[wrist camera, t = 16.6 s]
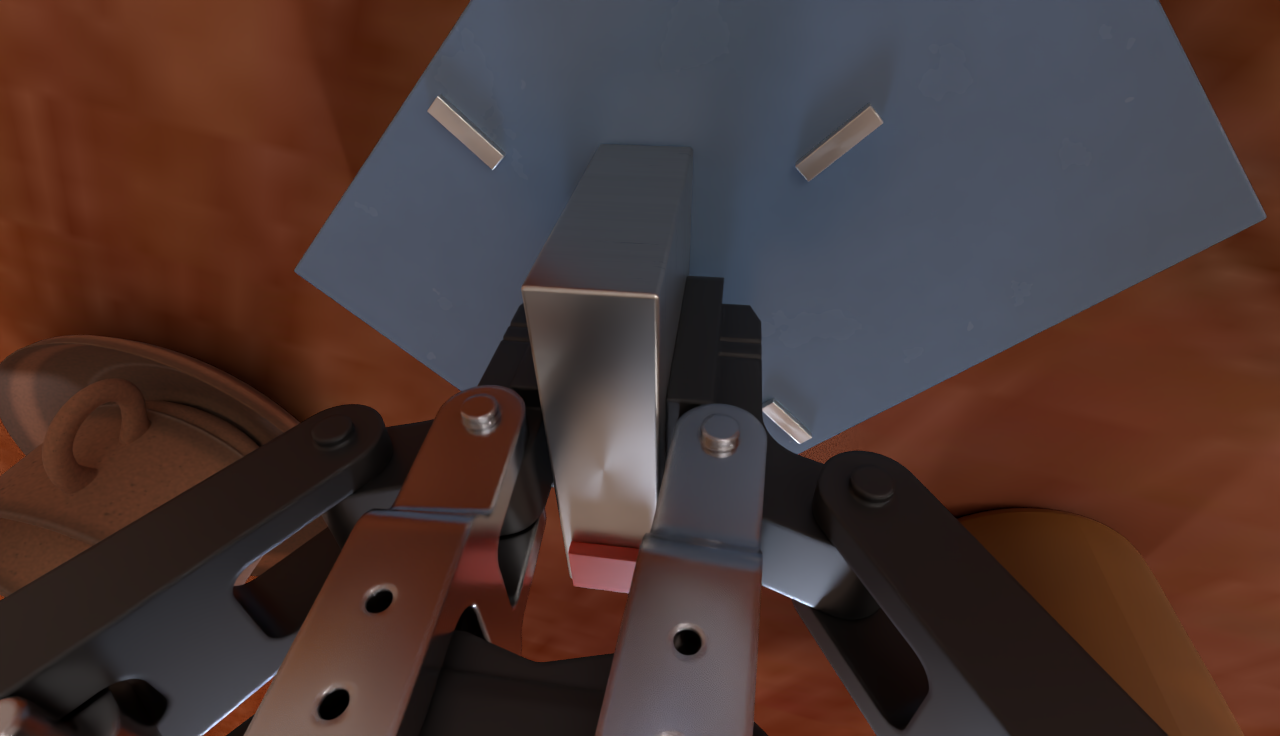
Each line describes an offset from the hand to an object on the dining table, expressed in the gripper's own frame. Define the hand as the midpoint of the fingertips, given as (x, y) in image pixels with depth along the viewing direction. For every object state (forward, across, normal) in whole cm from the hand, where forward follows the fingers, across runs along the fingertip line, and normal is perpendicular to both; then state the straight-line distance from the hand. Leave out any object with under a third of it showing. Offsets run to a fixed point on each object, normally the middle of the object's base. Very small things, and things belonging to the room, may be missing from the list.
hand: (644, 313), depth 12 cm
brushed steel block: (0, 0, 0) cm, 0 cm away
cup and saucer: (+4, +17, +9) cm, 19 cm away
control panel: (+3, -1, -1) cm, 4 cm away
